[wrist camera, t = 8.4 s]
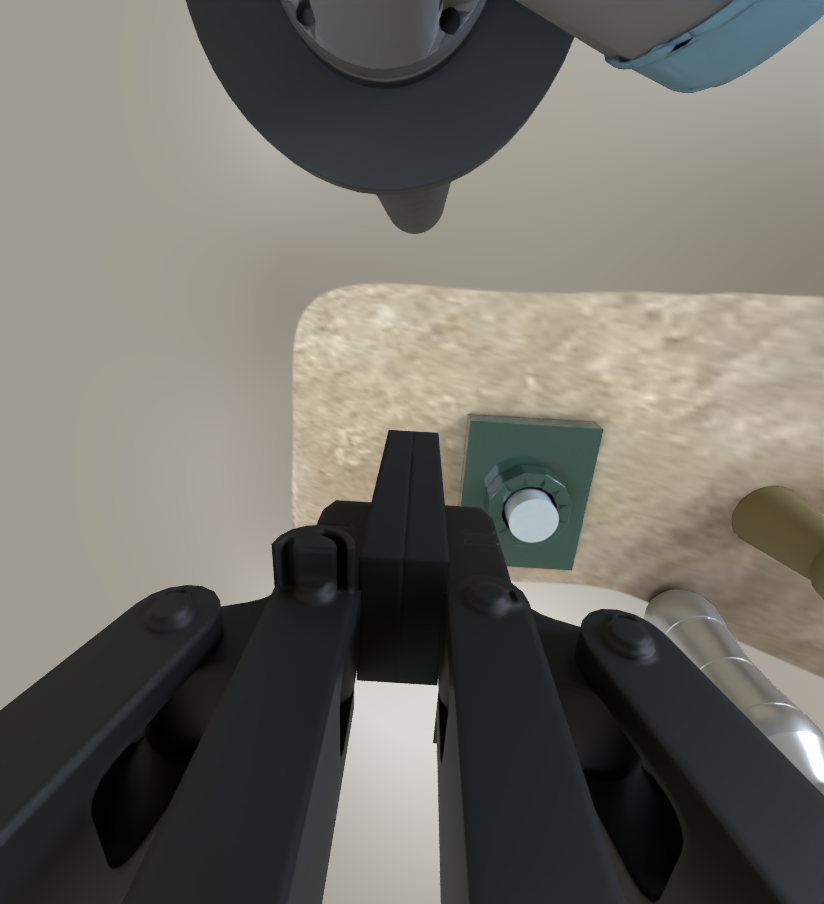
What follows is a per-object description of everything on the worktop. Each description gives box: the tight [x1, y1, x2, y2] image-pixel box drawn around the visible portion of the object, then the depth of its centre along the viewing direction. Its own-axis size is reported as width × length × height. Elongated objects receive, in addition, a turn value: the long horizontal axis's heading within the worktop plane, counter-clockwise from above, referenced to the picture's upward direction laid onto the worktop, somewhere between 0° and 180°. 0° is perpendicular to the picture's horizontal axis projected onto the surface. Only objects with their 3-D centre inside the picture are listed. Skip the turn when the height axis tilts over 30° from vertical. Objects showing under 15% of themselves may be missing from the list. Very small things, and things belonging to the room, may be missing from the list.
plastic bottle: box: [644, 589, 824, 795], centre depth 36 cm, size 6×7×20 cm
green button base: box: [458, 414, 603, 570], centre depth 39 cm, size 14×11×4 cm
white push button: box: [505, 488, 559, 543], centre depth 36 cm, size 4×4×2 cm
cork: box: [732, 486, 824, 599], centre depth 36 cm, size 6×6×11 cm
